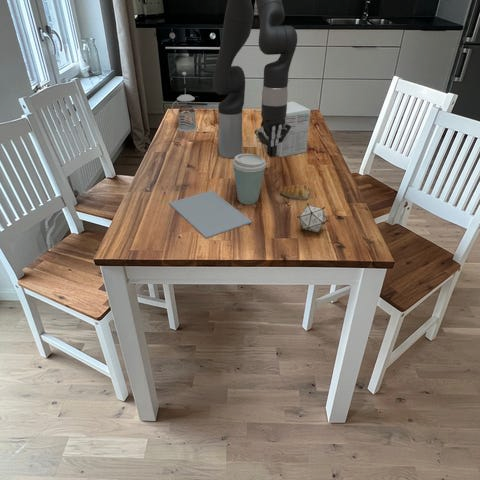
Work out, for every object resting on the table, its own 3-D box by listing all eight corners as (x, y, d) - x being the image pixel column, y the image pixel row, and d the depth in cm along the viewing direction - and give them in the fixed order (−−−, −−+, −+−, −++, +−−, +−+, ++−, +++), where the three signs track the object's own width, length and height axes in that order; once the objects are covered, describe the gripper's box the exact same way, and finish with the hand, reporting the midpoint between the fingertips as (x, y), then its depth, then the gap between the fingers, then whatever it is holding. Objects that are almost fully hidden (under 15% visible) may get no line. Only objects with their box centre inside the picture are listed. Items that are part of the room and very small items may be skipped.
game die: (303, 239, 124) (292, 207, 124) (331, 229, 123) (320, 197, 123) (305, 241, 115) (293, 207, 115) (334, 231, 114) (322, 196, 114)
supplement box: (307, 152, 170) (311, 109, 161) (279, 157, 166) (282, 114, 156) (290, 141, 180) (293, 100, 170) (263, 146, 175) (265, 104, 166)
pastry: (279, 198, 138) (280, 188, 135) (281, 189, 143) (282, 179, 141) (308, 201, 136) (309, 191, 134) (308, 192, 142) (309, 182, 140)
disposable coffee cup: (248, 189, 142) (249, 148, 134) (271, 200, 136) (274, 157, 128) (225, 199, 136) (225, 157, 128) (249, 211, 130) (250, 167, 121)
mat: (168, 203, 134) (168, 202, 133) (211, 191, 141) (211, 190, 141) (206, 238, 117) (206, 237, 117) (252, 222, 125) (252, 221, 124)
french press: (197, 132, 189) (194, 74, 175) (171, 131, 189) (166, 74, 175) (199, 125, 197) (196, 69, 183) (174, 124, 197) (170, 69, 183)
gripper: (283, 95, 128) (280, 148, 138) (248, 101, 122) (247, 156, 132) (299, 101, 123) (295, 155, 133) (264, 108, 117) (261, 165, 127)
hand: (271, 156), depth 132 cm, fingers closed
